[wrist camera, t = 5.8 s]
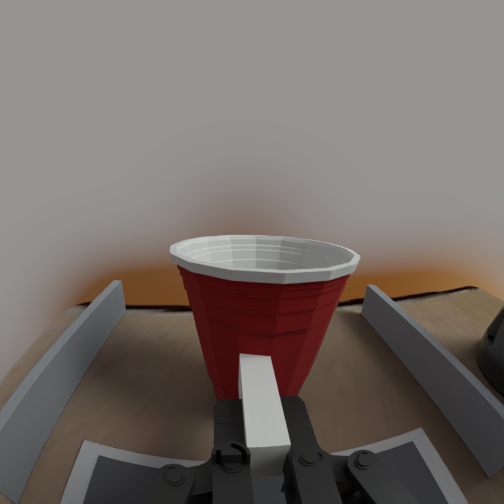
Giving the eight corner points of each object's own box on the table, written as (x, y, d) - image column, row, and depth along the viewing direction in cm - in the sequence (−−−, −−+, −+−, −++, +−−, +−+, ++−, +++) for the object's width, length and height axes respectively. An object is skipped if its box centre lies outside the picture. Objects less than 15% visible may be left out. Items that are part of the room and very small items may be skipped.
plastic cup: (305, 351, 24) (323, 226, 21) (343, 438, 14) (401, 272, 11) (190, 353, 23) (184, 222, 20) (176, 449, 13) (142, 270, 10)
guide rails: (367, 313, 32) (373, 284, 31) (496, 472, 6) (529, 436, 5) (118, 310, 29) (114, 280, 28) (6, 497, 4) (-33, 462, 3)
